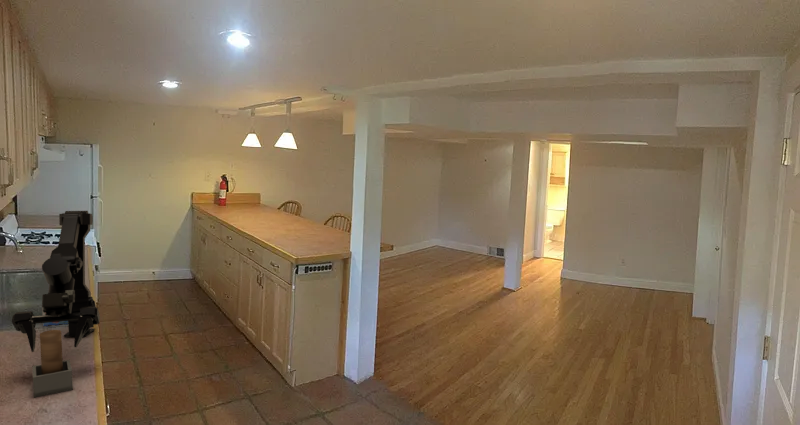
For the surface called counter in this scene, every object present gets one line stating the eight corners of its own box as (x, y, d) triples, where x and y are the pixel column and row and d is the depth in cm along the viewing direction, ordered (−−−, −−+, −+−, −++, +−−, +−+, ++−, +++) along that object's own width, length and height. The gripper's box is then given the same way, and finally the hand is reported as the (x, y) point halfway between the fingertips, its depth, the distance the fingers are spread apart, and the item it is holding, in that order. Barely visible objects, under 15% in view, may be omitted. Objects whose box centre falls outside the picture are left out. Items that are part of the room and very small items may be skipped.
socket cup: (33, 385, 132) (32, 366, 131) (70, 377, 136) (69, 359, 136) (33, 397, 125) (32, 377, 125) (72, 389, 130) (71, 370, 129)
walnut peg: (48, 379, 133) (45, 330, 131) (66, 379, 133) (64, 329, 132) (38, 387, 128) (36, 336, 127) (57, 387, 129) (55, 336, 127)
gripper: (11, 281, 132) (1, 339, 123) (96, 276, 139) (92, 331, 131) (21, 303, 140) (12, 358, 131) (101, 297, 147) (97, 349, 139)
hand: (54, 348), depth 133 cm, fingers open, 9 cm apart
